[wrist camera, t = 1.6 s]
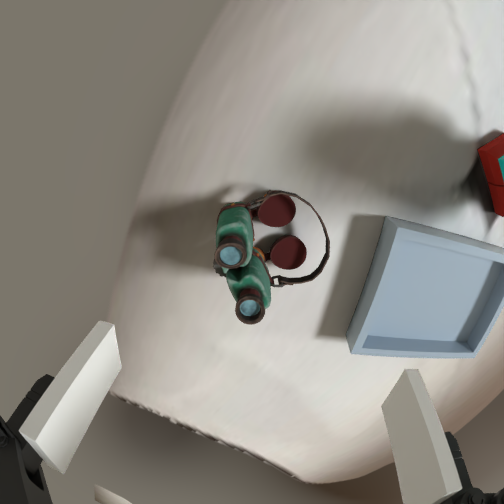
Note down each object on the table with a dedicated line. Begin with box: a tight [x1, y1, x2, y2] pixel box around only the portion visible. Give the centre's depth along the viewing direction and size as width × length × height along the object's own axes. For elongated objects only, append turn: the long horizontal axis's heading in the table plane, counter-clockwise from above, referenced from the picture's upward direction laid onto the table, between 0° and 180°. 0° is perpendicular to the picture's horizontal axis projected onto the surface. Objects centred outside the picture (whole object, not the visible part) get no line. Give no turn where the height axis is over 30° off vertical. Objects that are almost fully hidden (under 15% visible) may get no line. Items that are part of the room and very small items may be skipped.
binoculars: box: [213, 190, 330, 324], centre depth 25 cm, size 9×11×10 cm
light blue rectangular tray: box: [346, 216, 504, 358], centre depth 29 cm, size 15×20×4 cm
